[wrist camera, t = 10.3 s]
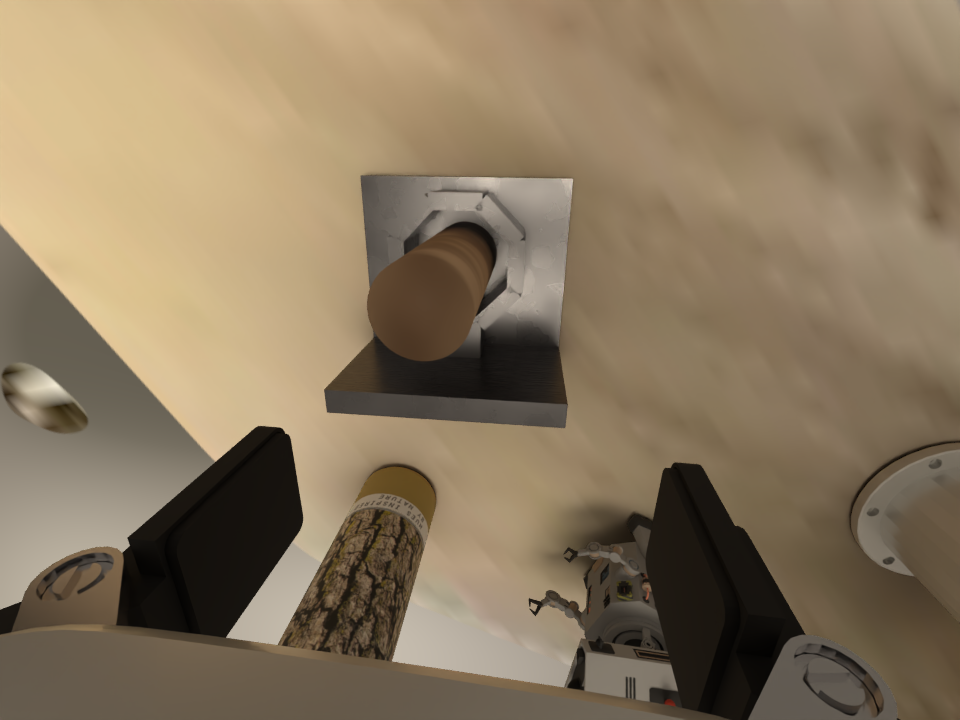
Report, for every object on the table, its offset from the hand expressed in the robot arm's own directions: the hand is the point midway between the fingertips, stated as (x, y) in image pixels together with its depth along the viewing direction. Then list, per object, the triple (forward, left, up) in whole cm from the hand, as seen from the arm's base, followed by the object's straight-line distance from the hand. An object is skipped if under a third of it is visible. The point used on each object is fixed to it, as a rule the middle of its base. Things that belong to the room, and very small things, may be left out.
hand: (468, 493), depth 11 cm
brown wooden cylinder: (+3, -2, -22) cm, 23 cm away
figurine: (-10, +24, -24) cm, 35 cm away
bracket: (+3, -1, -23) cm, 24 cm away
